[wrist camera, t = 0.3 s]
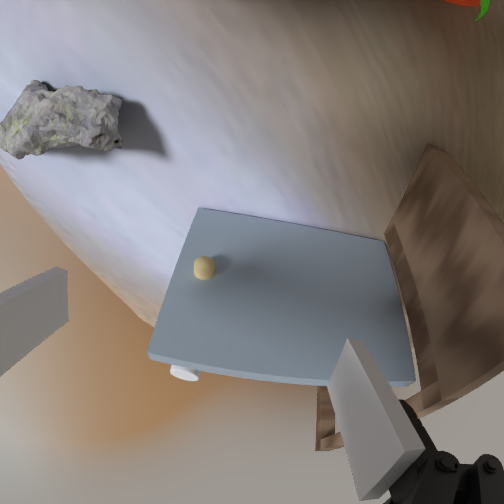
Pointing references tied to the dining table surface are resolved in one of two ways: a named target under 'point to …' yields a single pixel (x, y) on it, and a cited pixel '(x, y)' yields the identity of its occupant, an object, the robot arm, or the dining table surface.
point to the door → (279, 302)
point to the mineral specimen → (60, 120)
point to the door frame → (443, 287)
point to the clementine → (473, 1)
